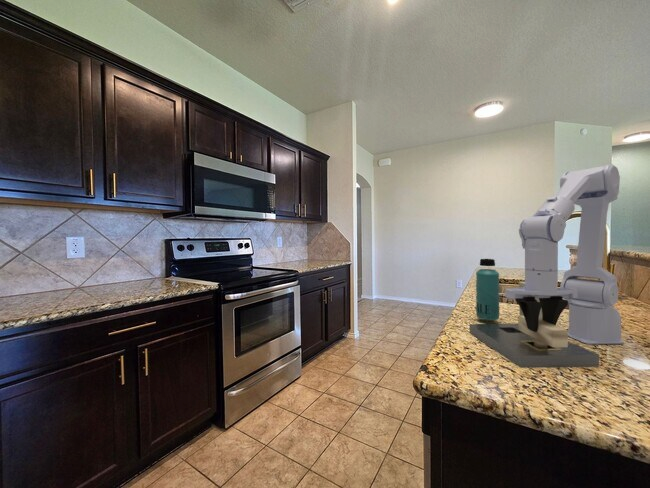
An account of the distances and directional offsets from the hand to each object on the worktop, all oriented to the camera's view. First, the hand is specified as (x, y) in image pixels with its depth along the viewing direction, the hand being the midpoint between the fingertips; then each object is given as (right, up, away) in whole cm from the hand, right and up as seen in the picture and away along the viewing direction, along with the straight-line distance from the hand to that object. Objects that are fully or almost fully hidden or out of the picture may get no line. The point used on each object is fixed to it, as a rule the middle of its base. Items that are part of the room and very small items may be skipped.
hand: (540, 330), depth 60 cm
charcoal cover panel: (0, -6, +5) cm, 8 cm away
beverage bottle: (+3, -6, +25) cm, 25 cm away
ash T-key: (0, -4, 0) cm, 4 cm away
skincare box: (+16, -5, +24) cm, 30 cm away
